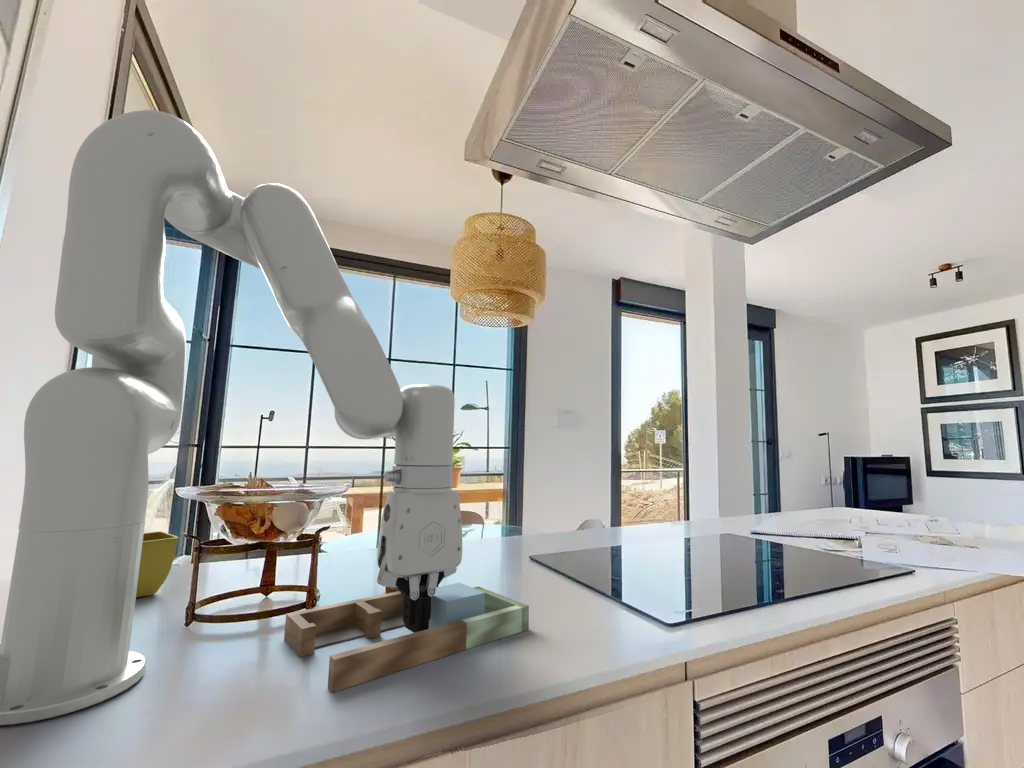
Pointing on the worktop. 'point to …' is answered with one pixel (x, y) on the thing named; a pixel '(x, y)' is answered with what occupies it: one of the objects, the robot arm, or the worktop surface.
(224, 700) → the worktop surface
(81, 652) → the robot arm
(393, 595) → the wood and green frame
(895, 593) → the worktop surface
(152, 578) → the flower pot
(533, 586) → the worktop surface
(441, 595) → the block
